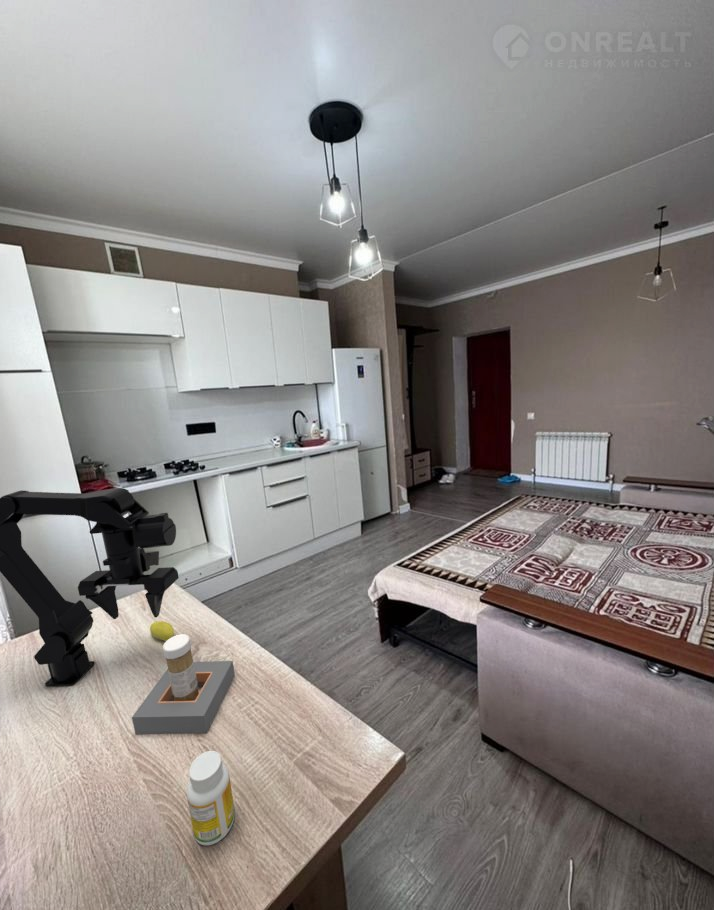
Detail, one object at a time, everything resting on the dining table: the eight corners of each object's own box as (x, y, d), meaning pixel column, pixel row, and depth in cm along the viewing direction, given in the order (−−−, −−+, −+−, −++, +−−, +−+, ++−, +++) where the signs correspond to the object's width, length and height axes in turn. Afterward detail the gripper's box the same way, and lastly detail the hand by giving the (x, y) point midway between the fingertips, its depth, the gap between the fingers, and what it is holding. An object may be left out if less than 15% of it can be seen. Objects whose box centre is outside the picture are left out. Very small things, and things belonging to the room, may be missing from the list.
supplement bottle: (206, 857, 47) (194, 796, 45) (186, 827, 50) (175, 769, 49) (243, 819, 51) (233, 761, 49) (223, 793, 54) (213, 738, 53)
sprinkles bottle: (188, 691, 74) (177, 631, 71) (205, 696, 72) (194, 635, 70) (169, 709, 70) (156, 647, 67) (187, 716, 68) (174, 652, 66)
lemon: (162, 647, 88) (159, 632, 87) (147, 636, 93) (144, 622, 92) (179, 637, 91) (177, 623, 90) (164, 626, 96) (161, 613, 95)
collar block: (135, 734, 65) (131, 717, 65) (174, 677, 78) (172, 662, 77) (206, 733, 64) (203, 715, 64) (234, 675, 77) (232, 660, 77)
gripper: (185, 532, 84) (196, 594, 87) (107, 536, 86) (120, 597, 88) (156, 554, 73) (170, 624, 76) (68, 558, 75) (84, 627, 77)
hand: (136, 617), depth 80 cm, fingers open, 9 cm apart
